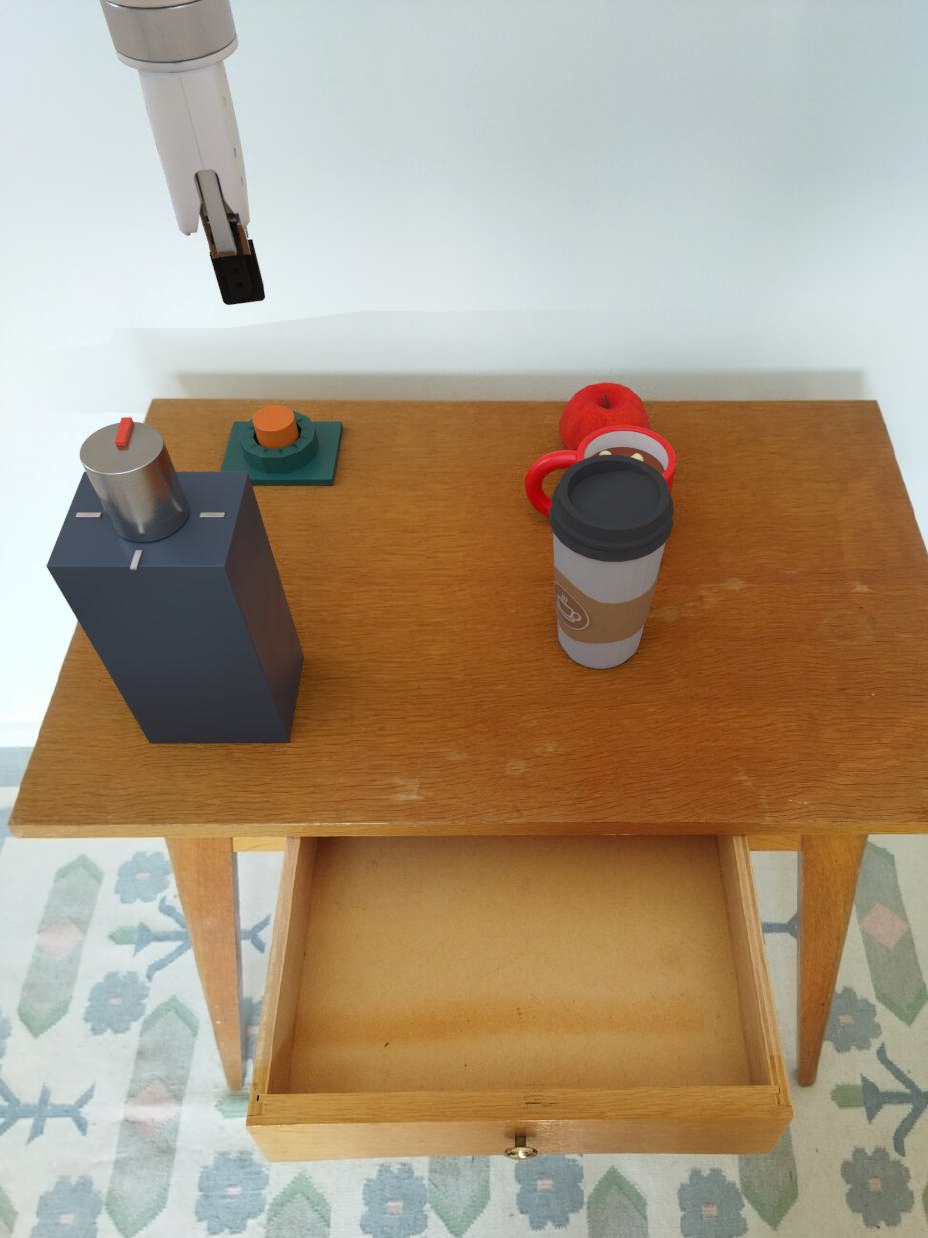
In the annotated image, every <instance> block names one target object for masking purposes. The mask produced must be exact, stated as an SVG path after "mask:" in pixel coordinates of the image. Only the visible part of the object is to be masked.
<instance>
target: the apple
mask: <svg viewBox="0 0 928 1238" xmlns="http://www.w3.org/2000/svg"><path fill="white" fill-rule="evenodd" d="M616 425H631V426H638V427H642V428H646V429H648V430H650V426H651V424H650V419H649V415H648V412H647V410H646V407H645V404H644V402H643V400H642V398H641V397H640V396H639V395H638V394H637V393H636V392H634V390H632V389H631V388H630V387H628V386H626V385H623V384H621V383H616V382H606V381H605V382H598V383H593V384H588V385H587V386H585V387H583V388H581V389H579V390H578V391H576V392H575V393H574V395H573V396H572V397H571V398H570V399H569V400H568V402H567V403H566V405H565V406H564V408H563V410H562V412H561V416H560V418H559V427H558V433H559V437H560V440H561V443H562V446H563V448H564V450H573V451H577V450H578V447H579V445H580V444H581V442H582V441H583V440H584V439H585V438H586V437H587V436H588V435H590V434H591V433H593V432H594V431H597V430H599V429H601V428H605V427H609V426H616Z"/></svg>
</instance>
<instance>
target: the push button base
mask: <svg viewBox="0 0 928 1238" xmlns="http://www.w3.org/2000/svg"><path fill="white" fill-rule="evenodd" d="M292 411H293V413H294V416H295V420H296V425H297V429H298V433H299V436H298V439H297V440H296V441H295V442H294V443H293V444H292V445H289V446H286V447H283V448H265V447H263V446H261V445H260V444H259V442H258V439H257V435H256V432H255V428H254V425H253V417H252V418H251V419H250V420H248V421H246V420H245V421H243V420H242V421H239V420H237V421H233V423H232V427H231V430H230V434H229V438H228V440H227V444H226V448H225V452H224V455H223V456H224V457H223V459H222V463H221V467H220V471H219V472H248V473H249V477H250V480H251V483H252V486H334V484H335V483H334V482H335V477H336V472H337V465H338V459H339V453H340V448H341V441H342V436H343V429H344V425H343V421H335V420H334V421H332V420H331V421H330V420H329V421H325V420H324V421H319V420H318V421H311V419H310V418H309V417H308V416H307V415H305V414H302V413H300V412H298V411H295V410H292Z"/></svg>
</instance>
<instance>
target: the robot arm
mask: <svg viewBox="0 0 928 1238" xmlns="http://www.w3.org/2000/svg"><path fill="white" fill-rule="evenodd" d="M99 3H100V6H101V9H102V13H103V16H104V18H105V22H106V25H107V28H108V32H109V35H110V38H111V41H112V44H113V47H114V50H115V54H116V56H117V59H118V60H119V61H120V62H121V63H122V64H123V65H125V66H127V67H129V68H132V69H134V70H136V71H137V73H138V79H139V82H140V87H141V91H142V96H143V102H144V105H145V108H146V113H147V116H148V121H149V124H150V128H151V132H152V135H153V139H154V142H155V146H156V150H157V154H158V157H159V160H160V164H161V167H162V170H163V175H164V178H165V182H166V186H167V190H168V193H169V196H170V201H171V204H172V209H173V211H174V215H175V218H176V219H175V220H176V222H177V226H178V229H179V231H180V232H181V233H182V234H183V235H185V236H187V237H188V236H191V234H195V233H198V231H199V230H198V229H199V222H201V226H202V227H203V231H204V234H205V238H206V241H207V244H208V248H209V259H210V262H211V265H212V268H213V272H214V275H215V278H216V281H217V286H218V290H219V292H220V296H221V299H222V302H223V304H225V305H227V306H231V305H240V304H249V303H255V302H263V301H264V300H265V298H266V291H265V285H264V281H263V277H262V273H261V267H260V265H259V260H258V257H257V253H256V248H255V244H254V240H253V238H250V239H249V231H248V225H249V223H250V222H251V217H250V208H249V206H250V205H249V196H248V184H247V177H246V168H245V167H246V166H245V159H244V153H243V148H242V142H241V137H240V131H239V127H238V126H239V125H238V120H237V116H236V110H235V107H234V102H233V98H232V94H231V93H232V92H231V88H230V84H229V79H228V76H227V71H226V67H225V63H224V60H226V59H228V58H229V57H231V56H232V55H233V54H234V53H235V52H236V50H237V49H238V47H239V39H238V34H237V30H236V25H235V21H234V15H233V11H232V6H231V1H230V0H99Z"/></svg>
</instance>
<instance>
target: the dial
mask: <svg viewBox="0 0 928 1238" xmlns="http://www.w3.org/2000/svg"><path fill="white" fill-rule="evenodd" d="M79 460H80V462H81V464H82V466H83V468H84V472H86V473H87V475H88V477H89V479H90V481H91V483H92V485H93V487H94V489H95V491H96V494H97V496H98V498H99V500H100V502H101V504H102V506H103V508H104V510H105V512H106V514H107V516H108V518H109V521H110V523H111V525H112V527H113V529H114V530H115V532H116V533H117V534H118V535H119V536H121V537H122V538H124V539H127V540H130V541H134V542H150V541H156V540H160V539H162V538H165V537H167V536H169V535H171V534H173V533H174V532H176V531H177V530H178V529H180V528H181V527H182V526H183V524H184V523H185V522H186V520H187V518H188V515H189V506H188V503H187V500H186V497H185V495H184V492H183V490H182V487H181V484H180V482H179V479H178V476H177V474H176V472H177V470H176V469H175V466H174V464H173V461H172V458H171V456H170V453H169V451H168V448H167V445H166V443H165V441H164V437H163V435H162V434H161V432H160V431H159V429H157V428H155V427H154V426H152V425H150V424H148V423H144V422H141V421H134V420H133V417H132V416H127V417H126V416H125V417H124V416H123V417H121V418H120V422H116V423H111V424H108V425H106V426H104V427H101V428H99V429H97V430H96V431H94V432H92V433H91V434H89V436H88V437H87V438H86V439H85V440H84V441H83V443H82V444H81V447H80V448H79Z"/></svg>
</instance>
